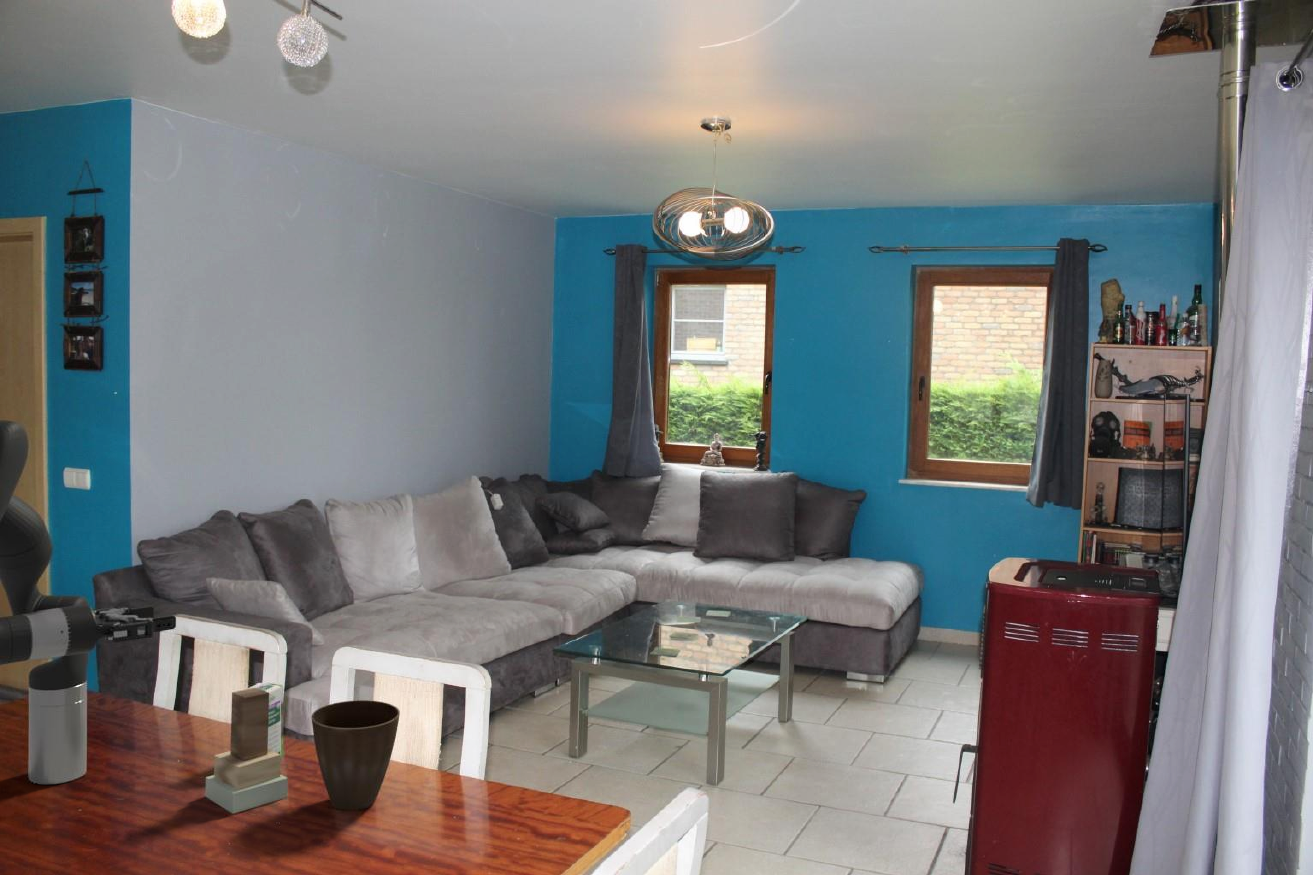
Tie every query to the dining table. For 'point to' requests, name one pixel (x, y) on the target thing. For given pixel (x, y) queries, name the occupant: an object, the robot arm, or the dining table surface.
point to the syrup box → (274, 715)
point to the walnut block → (249, 723)
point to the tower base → (245, 793)
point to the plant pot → (354, 749)
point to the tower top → (246, 769)
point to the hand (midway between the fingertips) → (163, 616)
